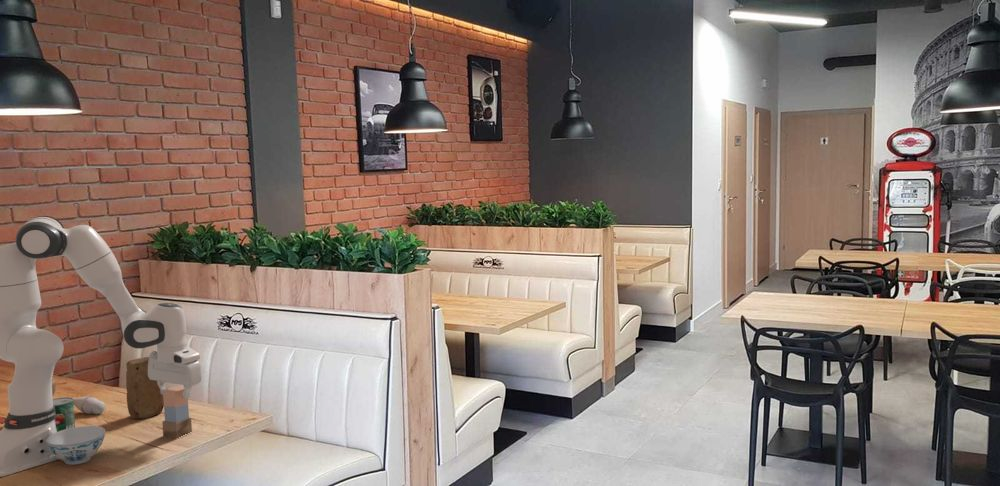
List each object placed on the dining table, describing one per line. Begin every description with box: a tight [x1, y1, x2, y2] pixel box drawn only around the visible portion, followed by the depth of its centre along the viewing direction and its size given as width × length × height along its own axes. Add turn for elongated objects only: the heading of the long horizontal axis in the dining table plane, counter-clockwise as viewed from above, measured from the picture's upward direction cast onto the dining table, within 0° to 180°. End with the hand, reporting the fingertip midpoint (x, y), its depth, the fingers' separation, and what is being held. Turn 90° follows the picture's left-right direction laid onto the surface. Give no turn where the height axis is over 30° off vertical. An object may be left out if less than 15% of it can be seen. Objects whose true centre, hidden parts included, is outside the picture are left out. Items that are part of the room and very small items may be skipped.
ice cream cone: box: [73, 395, 106, 415], centre depth 259 cm, size 6×6×15 cm
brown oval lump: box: [125, 356, 164, 420], centre depth 255 cm, size 11×8×20 cm
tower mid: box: [163, 402, 190, 423], centre depth 237 cm, size 5×5×5 cm
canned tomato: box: [53, 396, 76, 432], centre depth 238 cm, size 8×8×11 cm
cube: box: [163, 385, 189, 408], centre depth 236 cm, size 5×5×5 cm
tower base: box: [161, 417, 193, 439], centre depth 237 cm, size 6×6×5 cm
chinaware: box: [46, 425, 106, 466], centre depth 217 cm, size 15×15×8 cm
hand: (175, 396), depth 236 cm, fingers open, 8 cm apart
